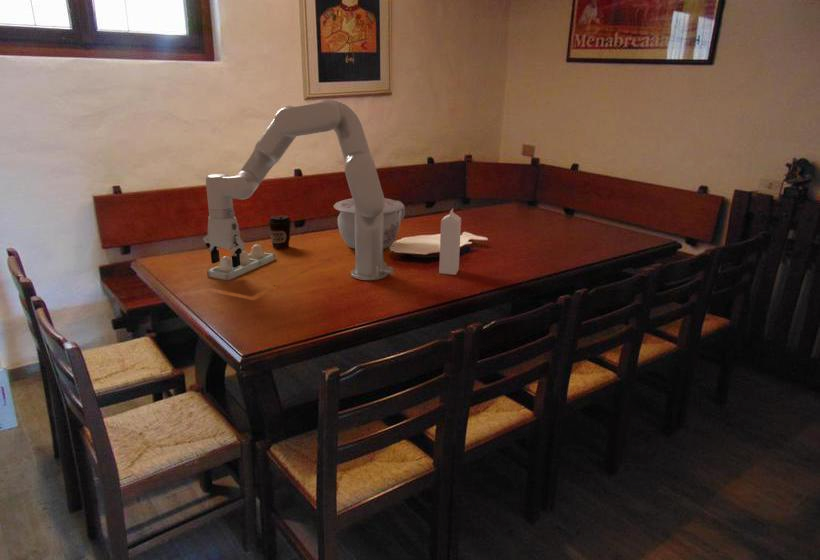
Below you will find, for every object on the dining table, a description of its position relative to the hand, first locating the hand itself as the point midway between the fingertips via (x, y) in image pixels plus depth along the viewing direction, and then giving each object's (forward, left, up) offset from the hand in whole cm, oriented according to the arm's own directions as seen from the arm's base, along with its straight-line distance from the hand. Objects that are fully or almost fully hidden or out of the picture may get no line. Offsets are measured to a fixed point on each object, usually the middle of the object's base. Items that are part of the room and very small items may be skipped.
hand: (226, 264), depth 195 cm
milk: (-64, -40, -5) cm, 76 cm away
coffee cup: (+3, -34, -5) cm, 34 cm away
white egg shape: (0, 0, -4) cm, 4 cm away
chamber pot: (-25, -54, -5) cm, 60 cm away
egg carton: (+4, -8, -5) cm, 10 cm away
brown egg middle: (0, -8, -4) cm, 9 cm away
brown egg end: (0, -16, -4) cm, 16 cm away
